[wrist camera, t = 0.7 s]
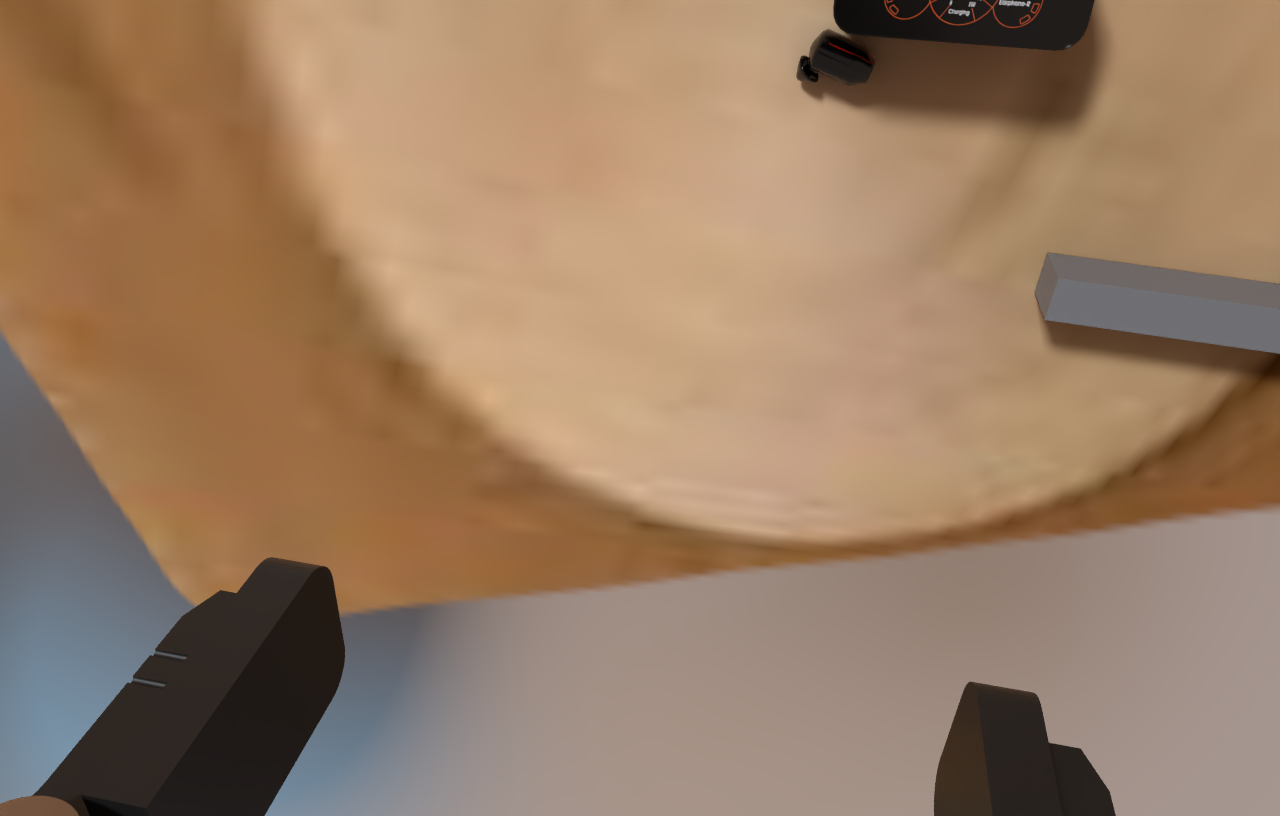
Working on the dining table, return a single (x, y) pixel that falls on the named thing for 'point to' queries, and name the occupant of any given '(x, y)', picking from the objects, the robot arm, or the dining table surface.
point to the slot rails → (1160, 302)
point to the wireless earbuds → (940, 29)
